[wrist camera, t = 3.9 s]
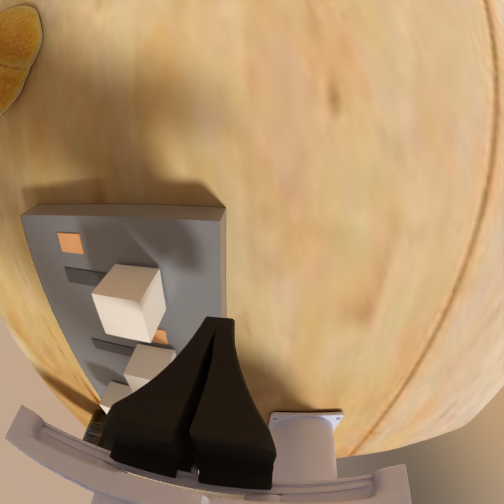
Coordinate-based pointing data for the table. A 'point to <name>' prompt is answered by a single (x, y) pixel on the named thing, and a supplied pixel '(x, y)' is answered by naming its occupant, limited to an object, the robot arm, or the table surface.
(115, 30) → the table surface
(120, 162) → the table surface
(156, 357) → the slider middle
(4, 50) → the bread roll
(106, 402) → the block
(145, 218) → the switch panel
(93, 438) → the supplement bottle
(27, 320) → the table surface
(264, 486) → the robot arm
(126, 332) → the block
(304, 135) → the table surface
